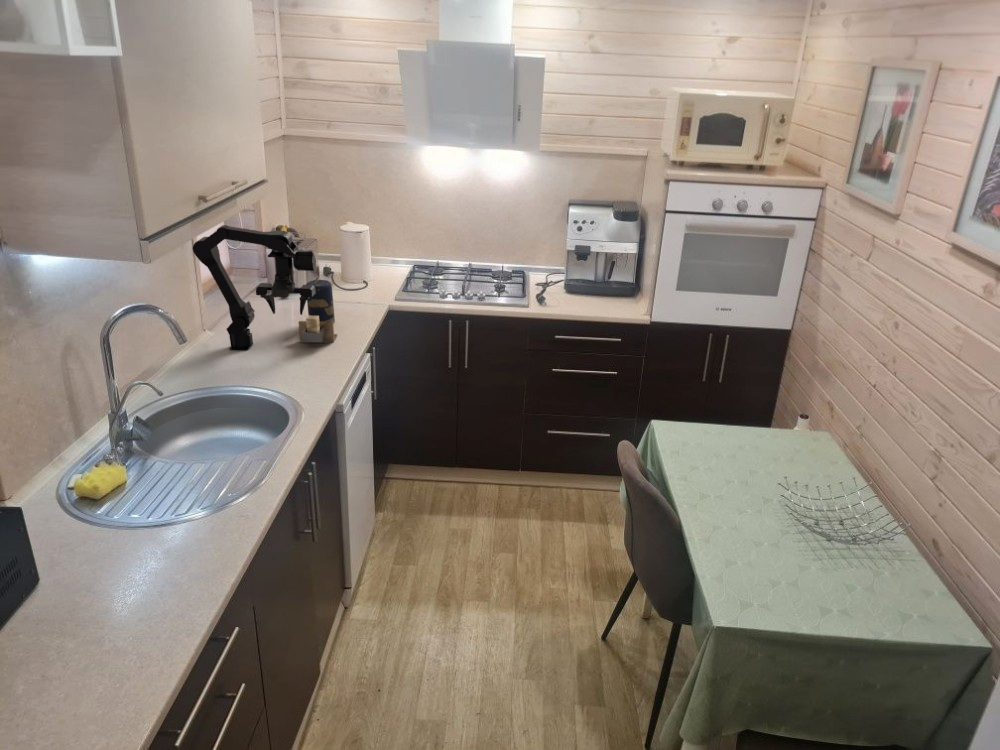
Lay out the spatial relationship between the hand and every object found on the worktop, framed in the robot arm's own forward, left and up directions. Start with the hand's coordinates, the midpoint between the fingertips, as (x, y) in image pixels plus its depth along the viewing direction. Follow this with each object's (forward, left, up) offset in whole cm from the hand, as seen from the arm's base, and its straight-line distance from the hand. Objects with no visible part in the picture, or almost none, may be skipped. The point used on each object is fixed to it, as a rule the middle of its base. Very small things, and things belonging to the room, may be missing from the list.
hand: (287, 314), depth 241 cm
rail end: (+8, +2, -9) cm, 12 cm away
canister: (+6, +22, -12) cm, 26 cm away
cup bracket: (+8, +5, -12) cm, 15 cm away
